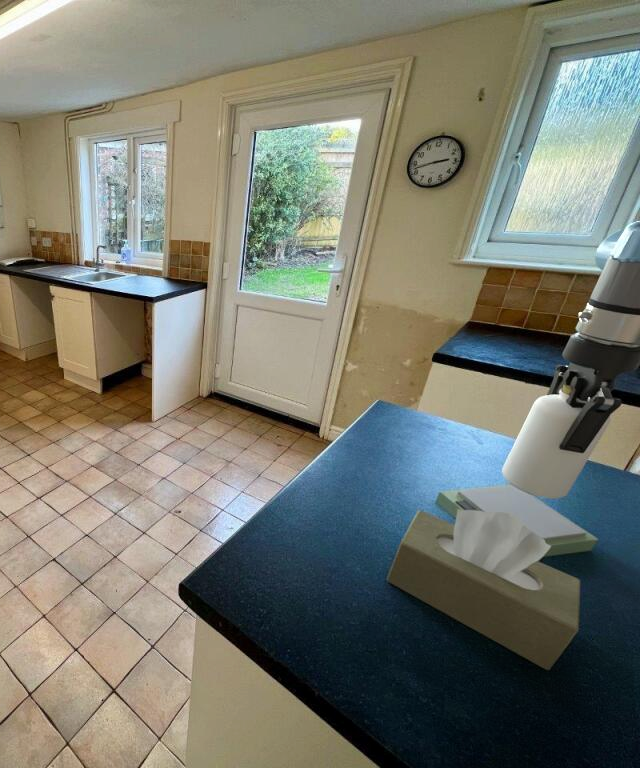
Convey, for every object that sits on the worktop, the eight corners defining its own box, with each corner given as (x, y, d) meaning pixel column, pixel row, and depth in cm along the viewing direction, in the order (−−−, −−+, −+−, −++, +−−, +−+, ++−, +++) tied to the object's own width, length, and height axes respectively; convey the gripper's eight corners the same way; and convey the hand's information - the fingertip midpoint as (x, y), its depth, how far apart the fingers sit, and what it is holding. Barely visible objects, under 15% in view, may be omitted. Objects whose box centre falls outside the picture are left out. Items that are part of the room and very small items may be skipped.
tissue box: (556, 621, 57) (614, 536, 50) (551, 674, 51) (617, 585, 44) (402, 544, 69) (432, 467, 62) (383, 580, 63) (414, 499, 56)
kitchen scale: (509, 493, 80) (515, 480, 79) (591, 550, 68) (600, 536, 66) (435, 501, 78) (440, 488, 77) (505, 561, 66) (513, 547, 64)
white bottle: (504, 463, 75) (548, 372, 67) (567, 485, 69) (623, 389, 61) (495, 484, 70) (541, 388, 62) (563, 509, 64) (623, 408, 56)
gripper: (552, 320, 66) (495, 443, 76) (602, 352, 53) (526, 495, 63) (616, 326, 63) (548, 453, 73) (685, 362, 50) (591, 510, 60)
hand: (538, 473), depth 68 cm, fingers open, 2 cm apart
